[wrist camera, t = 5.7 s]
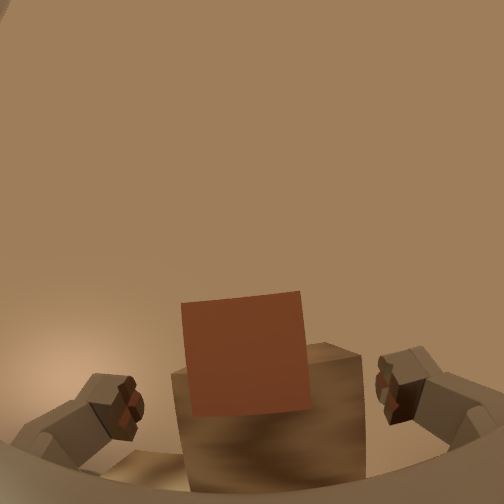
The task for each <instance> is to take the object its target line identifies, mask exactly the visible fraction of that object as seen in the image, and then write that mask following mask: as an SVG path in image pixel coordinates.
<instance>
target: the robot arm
mask: <svg viewBox="0 0 504 504" xmlns="http://www.w3.org/2000/svg"><path fill="white" fill-rule="evenodd" d="M9 3H10V0H0V21H1V19H2V18H3V16H4V14H5V12H6V10H7V8H8V5H9ZM378 368H379V369H380V372H379V373H378V375H377V376H376V383H375V385H376V394H377V397H378V400H379V402H380V403H382V404H383V405H385V407H384V414H385V416H386V418H387V421H388V423H389V425H394V424H397V423H402V422H406V421H409V420H413V419H414V420H413V421H415V422H416V423H418V424H419V425H420V426H422V427H423V428H425V429H426V430H428V431H429V432H431V433H432V434H434V435H435V436H437V437H438V438H440V439H441V440H443V441H444V442H446V443H447V444H449V445H450V448H449V449H448V451H447V453H445V454H442V455H440V456H437V457H434V458H432V459H429V460H426V461H424V462H421V463H418V464H415V465H412V466H409V467H406V468H403V469H400V470H396V471H393V472H389V473H386V474H382V475H378V476H374V477H370V478H366V479H362V480H357V481H353V482H348V483H343V484H338V485H332V486H326V487H320V488H313V489H305V490H296V491H286V492H274V493H253V494H219V493H198V492H185V491H175V490H167V489H159V488H152V487H146V486H140V485H134V484H129V483H124V482H119V481H115V480H110V479H106V478H102V477H98V476H94V475H91V474H87V473H83V472H82V471H81V470H80V469H79V467H80V466H81V465H82V464H84V463H85V462H86V461H87V460H89V459H90V458H91V457H92V456H93V455H95V454H96V453H97V452H98V451H99V450H100V449H102V448H103V447H104V446H105V445H107V444H108V443H109V442H110V441H111V439H115V440H123V441H133V439H134V436H135V434H136V432H137V429H138V427H137V425H136V423H137V422H138V421H140V420H141V419H142V417H143V414H144V401H143V398H142V396H141V394H140V393H139V392H137V391H136V390H135V388H136V382H135V380H134V378H133V377H131V376H123V375H111V374H99V373H95V374H92V376H91V377H90V378H89V380H88V381H87V383H86V384H85V386H84V387H83V388H82V390H81V391H80V393H79V394H78V396H77V397H76V398H75V400H70V401H68V402H66V403H64V404H62V405H61V406H59V407H57V408H55V409H53V410H51V411H50V412H48V413H46V414H44V415H42V416H40V417H38V418H36V419H34V420H32V421H31V422H28V423H27V424H25V425H24V426H23V428H22V429H21V430H20V432H19V433H18V434H17V436H16V437H15V439H14V440H13V441H12V443H11V444H10V445H9V444H7V443H5V442H3V441H1V440H0V504H504V394H503V393H501V392H498V391H496V390H493V389H490V388H487V387H485V386H482V385H480V384H477V383H475V382H472V381H469V380H467V379H464V378H462V377H459V376H456V375H454V374H451V373H449V372H445V373H443V372H442V370H441V369H440V368H439V366H438V365H437V364H436V362H435V361H434V360H433V358H432V357H431V356H430V355H429V353H428V352H427V351H426V350H425V348H424V347H422V346H418V347H414V348H410V349H408V350H404V351H400V352H395V353H391V354H387V355H383V356H380V357H379V360H378Z"/></svg>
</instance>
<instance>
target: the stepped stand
mask: <svg viewBox="0 0 504 504" xmlns="http://www.w3.org/2000/svg"><path fill="white" fill-rule="evenodd" d="M306 348H307V358H308V368H309V379H310V390H311V402H312V409H306V410H299V411H291V412H281V413H271V414H259V415H244V416H220V417H193V414H192V407H191V399H190V391H189V383H188V375H187V367H186V368H184V369H181V370H179V371H177V372H174V373H172V374H171V380H172V388H173V395H174V402H175V409H176V416H177V423H178V429H179V435H180V441H181V446H182V452H183V455H182V454H168V453H155V452H147V451H139V450H134V451H133V452H132V453H130V454H129V455H128V456H127V457H125V458H124V459H123V460H121V461H120V462H119V463H117V464H116V465H115V466H113V467H112V468H111V469H109V470H108V471H107V472H105V473H104V474H102V475H101V476H100V477H102V478H106V479H110V480H115V481H119V482H124V483H129V484H134V485H140V486H146V487H152V488H159V489H167V490H175V491H185V492H198V493H219V494H253V493H274V492H286V491H296V490H305V489H313V488H320V487H326V486H332V485H338V484H343V483H348V482H353V481H357V480H362V479H365V477H366V474H365V473H366V430H365V403H364V386H363V372H362V358H361V355H359V354H356V353H353V352H350V351H348V350H345V349H342V348H340V347H337V346H334V345H332V344H329V343H326V342H324V343H317V344H310V345H306Z"/></svg>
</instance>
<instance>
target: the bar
mask: <svg viewBox="0 0 504 504" xmlns="http://www.w3.org/2000/svg"><path fill="white" fill-rule="evenodd" d="M181 311H182V325H183V336H184V347H185V356H186V365H187V375H188V383H189V391H190V399H191V407H192V414H193V417H220V416H244V415H259V414H271V413H281V412H291V411H299V410H306V409H312V402H311V390H310V379H309V368H308V358H307V348H306V339H305V331H304V321H303V313H302V303H301V295H300V291H295V292H287V293H279V294H269V295H260V296H251V297H242V298H232V299H223V300H212V301H201V302H189V303H181Z"/></svg>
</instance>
